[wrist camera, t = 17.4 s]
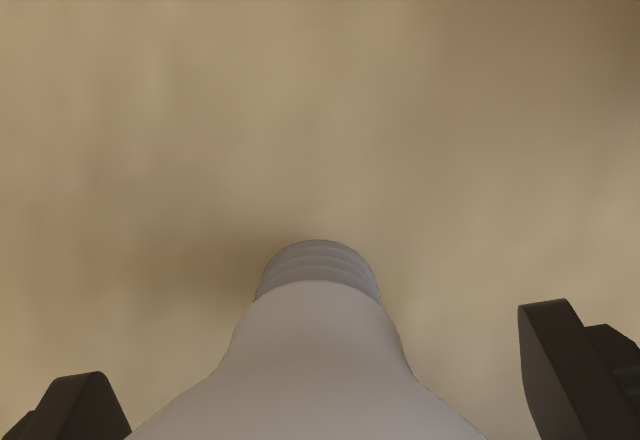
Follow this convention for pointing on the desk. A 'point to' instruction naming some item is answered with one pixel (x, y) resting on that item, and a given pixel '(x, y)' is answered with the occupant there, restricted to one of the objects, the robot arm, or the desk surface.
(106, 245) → the desk surface
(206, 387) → the lightbulb
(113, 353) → the desk surface
